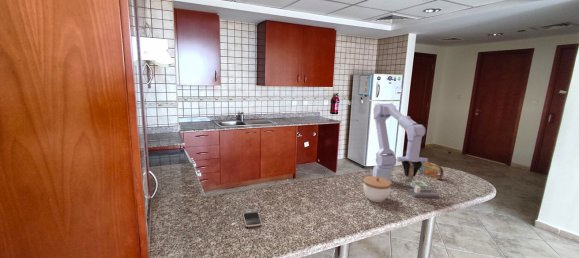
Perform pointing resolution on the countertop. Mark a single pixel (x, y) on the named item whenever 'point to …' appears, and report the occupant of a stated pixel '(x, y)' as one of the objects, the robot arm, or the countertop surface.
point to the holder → (419, 184)
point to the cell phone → (252, 219)
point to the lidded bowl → (376, 188)
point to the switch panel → (424, 193)
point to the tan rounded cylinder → (410, 174)
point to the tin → (431, 170)
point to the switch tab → (417, 189)
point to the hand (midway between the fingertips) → (409, 175)
